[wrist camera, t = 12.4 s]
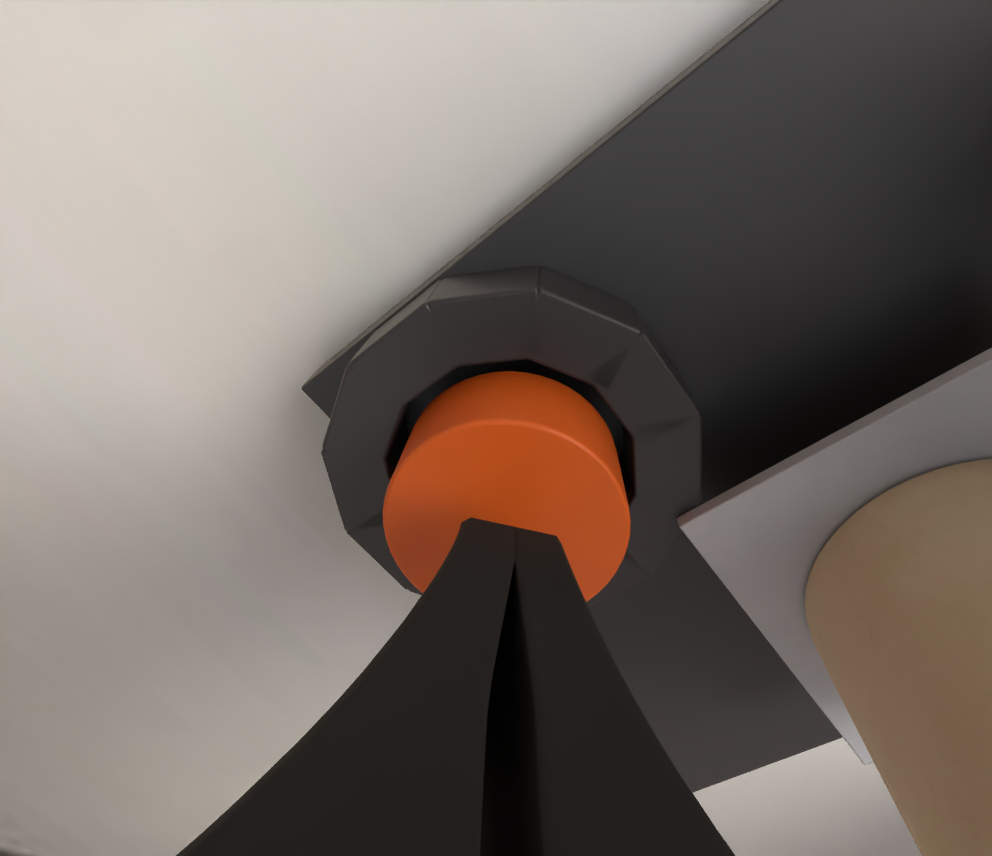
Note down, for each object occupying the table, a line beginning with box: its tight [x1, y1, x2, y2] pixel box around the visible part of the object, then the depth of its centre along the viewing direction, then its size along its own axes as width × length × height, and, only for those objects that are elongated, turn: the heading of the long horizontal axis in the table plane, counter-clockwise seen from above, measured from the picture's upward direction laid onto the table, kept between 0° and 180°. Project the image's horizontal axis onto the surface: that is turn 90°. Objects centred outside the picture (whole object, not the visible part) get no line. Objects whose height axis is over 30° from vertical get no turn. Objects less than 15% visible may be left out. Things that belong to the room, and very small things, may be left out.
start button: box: [383, 371, 631, 602], centre depth 11 cm, size 4×4×2 cm
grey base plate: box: [302, 0, 992, 792], centre depth 12 cm, size 16×15×3 cm
